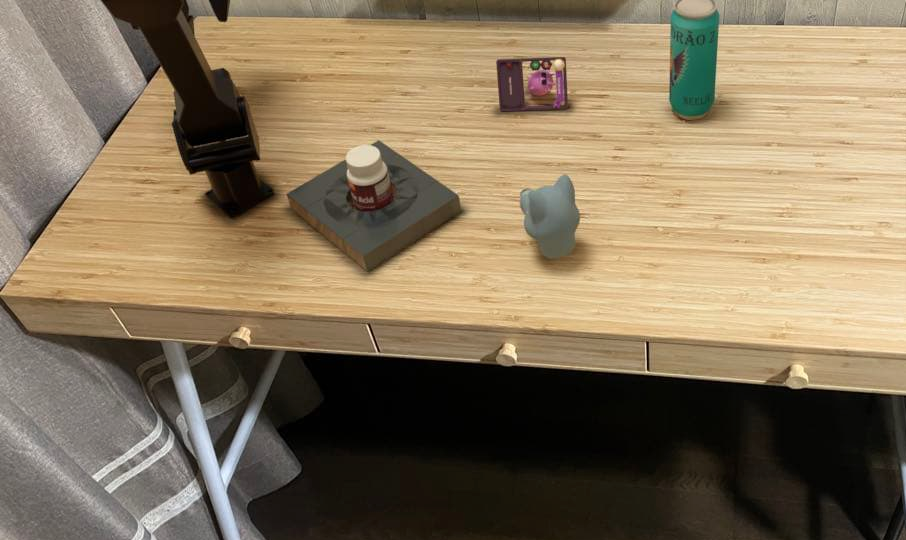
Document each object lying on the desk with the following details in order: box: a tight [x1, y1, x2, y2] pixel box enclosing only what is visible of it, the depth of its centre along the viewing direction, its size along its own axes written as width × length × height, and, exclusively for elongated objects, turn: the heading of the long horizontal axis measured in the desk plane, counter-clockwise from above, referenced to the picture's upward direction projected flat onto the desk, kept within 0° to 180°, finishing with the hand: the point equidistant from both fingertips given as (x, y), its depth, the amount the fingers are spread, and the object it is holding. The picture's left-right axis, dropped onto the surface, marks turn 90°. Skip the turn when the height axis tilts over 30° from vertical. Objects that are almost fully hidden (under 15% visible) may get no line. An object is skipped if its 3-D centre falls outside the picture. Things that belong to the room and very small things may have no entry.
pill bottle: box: [345, 144, 395, 212], centre depth 119 cm, size 5×5×8 cm
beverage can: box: [668, 0, 720, 121], centre depth 125 cm, size 6×6×15 cm
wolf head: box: [519, 173, 581, 260], centre depth 112 cm, size 6×9×10 cm
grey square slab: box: [285, 140, 462, 272], centre depth 121 cm, size 16×14×2 cm
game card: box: [495, 56, 569, 112], centre depth 133 cm, size 7×5×9 cm
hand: (207, 41), depth 128 cm, fingers open, 9 cm apart
